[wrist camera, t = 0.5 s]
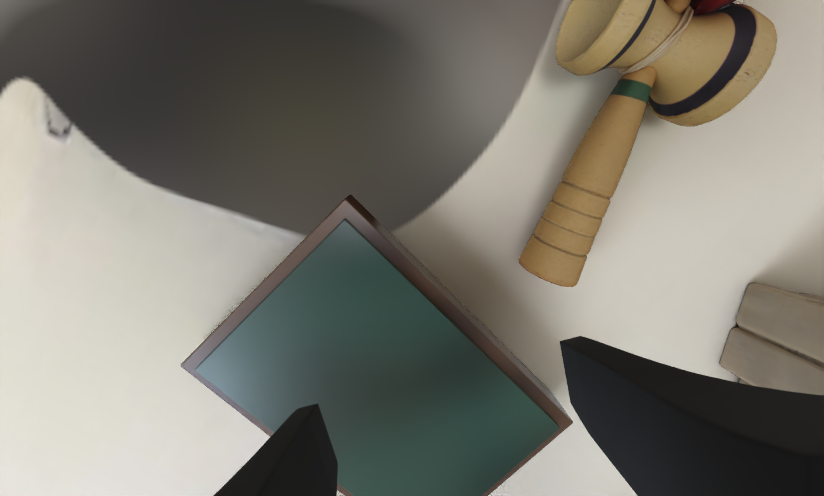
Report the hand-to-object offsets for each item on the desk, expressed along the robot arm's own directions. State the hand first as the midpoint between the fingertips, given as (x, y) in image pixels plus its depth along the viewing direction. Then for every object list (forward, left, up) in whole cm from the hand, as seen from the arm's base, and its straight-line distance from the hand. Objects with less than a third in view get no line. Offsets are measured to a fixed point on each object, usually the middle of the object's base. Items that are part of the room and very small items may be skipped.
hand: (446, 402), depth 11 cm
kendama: (+7, -11, -10) cm, 17 cm away
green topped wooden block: (-4, +3, -10) cm, 11 cm away
